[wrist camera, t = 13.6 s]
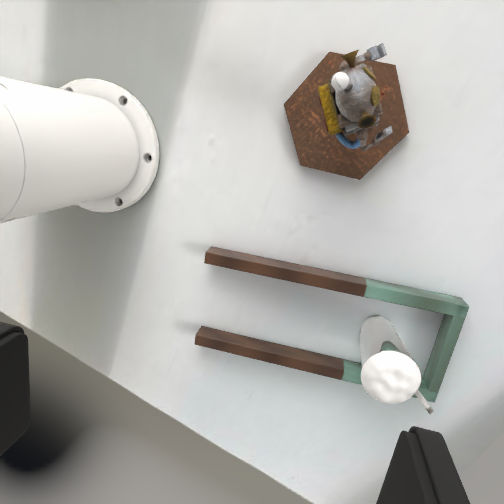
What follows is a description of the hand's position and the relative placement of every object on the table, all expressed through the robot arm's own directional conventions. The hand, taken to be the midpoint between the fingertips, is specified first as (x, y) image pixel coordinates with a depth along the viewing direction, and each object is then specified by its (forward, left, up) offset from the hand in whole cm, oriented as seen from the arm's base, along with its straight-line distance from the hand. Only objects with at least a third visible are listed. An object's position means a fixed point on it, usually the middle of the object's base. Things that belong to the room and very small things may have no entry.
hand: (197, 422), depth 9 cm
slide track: (+5, -10, -28) cm, 30 cm away
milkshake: (+11, -10, -28) cm, 32 cm away
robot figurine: (+3, +9, -28) cm, 30 cm away
